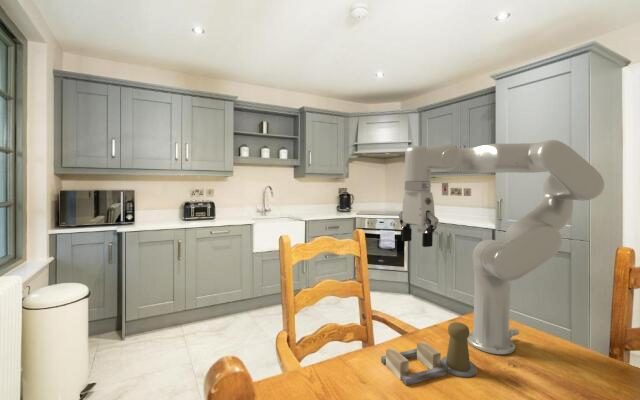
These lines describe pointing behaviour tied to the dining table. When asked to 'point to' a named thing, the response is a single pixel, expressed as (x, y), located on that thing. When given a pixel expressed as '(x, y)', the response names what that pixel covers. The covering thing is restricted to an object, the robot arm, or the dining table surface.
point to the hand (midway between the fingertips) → (416, 243)
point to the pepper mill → (458, 347)
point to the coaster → (469, 373)
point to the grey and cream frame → (423, 353)
